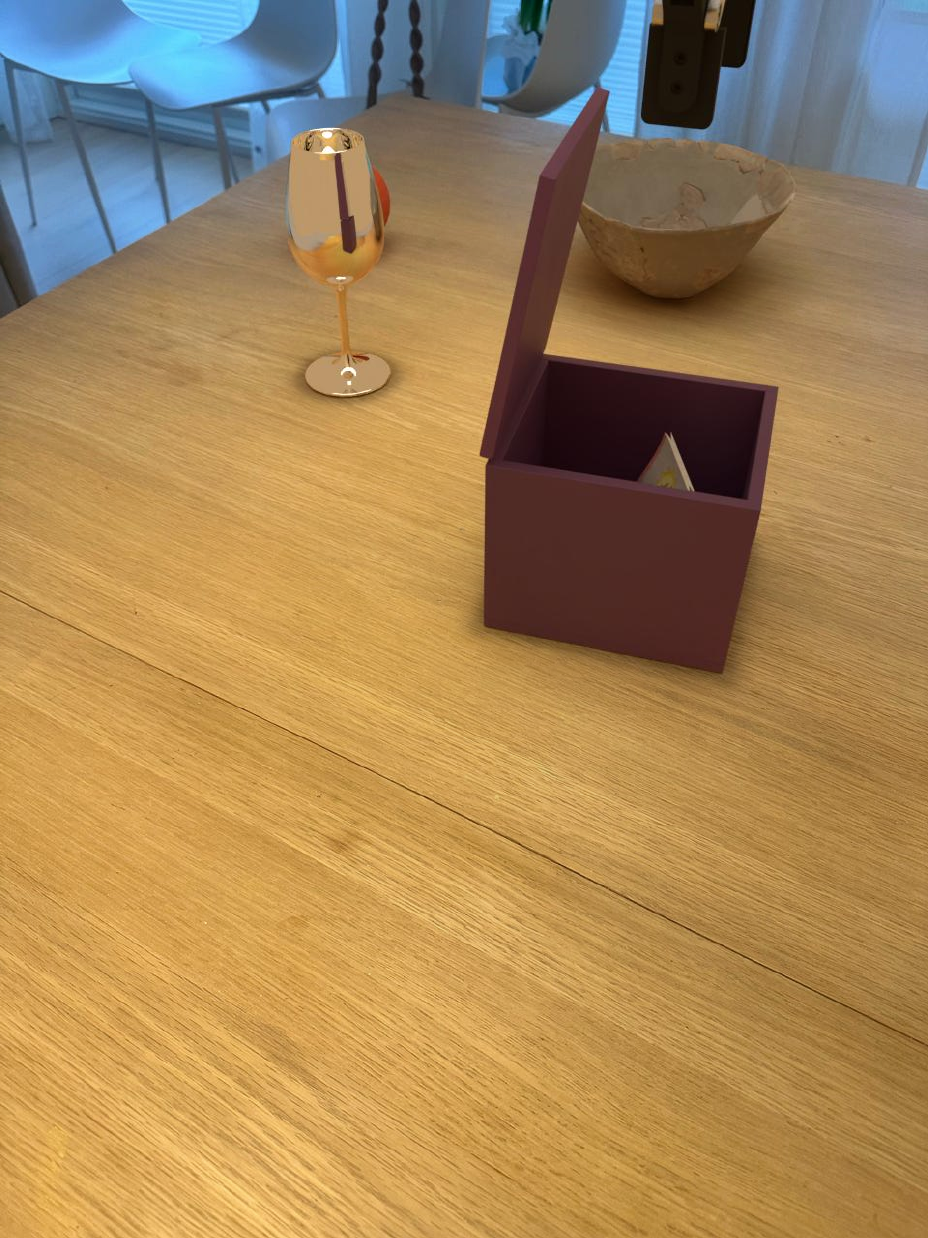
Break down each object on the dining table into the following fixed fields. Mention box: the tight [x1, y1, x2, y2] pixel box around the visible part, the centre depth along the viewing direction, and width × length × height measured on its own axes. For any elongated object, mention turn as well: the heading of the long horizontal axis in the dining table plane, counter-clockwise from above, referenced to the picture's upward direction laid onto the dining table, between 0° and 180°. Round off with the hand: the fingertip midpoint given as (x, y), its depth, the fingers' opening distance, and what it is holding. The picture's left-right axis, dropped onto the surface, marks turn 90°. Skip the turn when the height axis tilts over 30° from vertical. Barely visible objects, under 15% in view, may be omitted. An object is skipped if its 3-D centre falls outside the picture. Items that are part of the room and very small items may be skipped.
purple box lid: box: [479, 86, 611, 460], centre depth 59 cm, size 16×14×1 cm
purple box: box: [483, 353, 780, 674], centre depth 68 cm, size 16×14×13 cm
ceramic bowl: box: [577, 137, 798, 299], centre depth 104 cm, size 22×23×10 cm
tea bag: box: [636, 432, 694, 491], centre depth 68 cm, size 4×7×10 cm, turn 4°
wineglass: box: [285, 127, 392, 398], centre depth 86 cm, size 8×8×20 cm
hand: (695, 92), depth 51 cm, fingers open, 9 cm apart
